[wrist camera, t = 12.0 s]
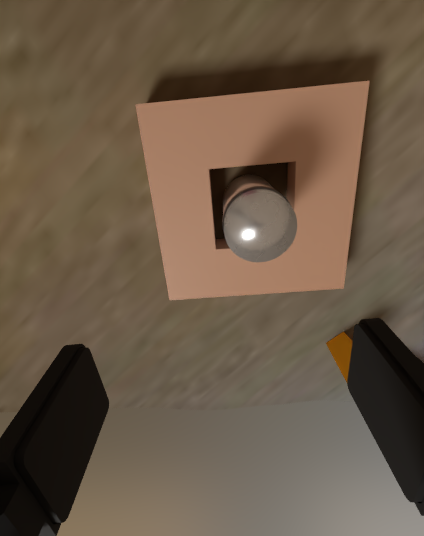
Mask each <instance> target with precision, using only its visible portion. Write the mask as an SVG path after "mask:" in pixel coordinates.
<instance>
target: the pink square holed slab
mask: <svg viewBox="0 0 424 536" xmlns="http://www.w3.org/2000/svg"><path fill="white" fill-rule="evenodd" d="M369 82H370V81H360V82H351V83H341V84H331V85H321V86H311V87H302V88H292V89H282V90H272V91H263V92H253V93H243V94H233V95H223V96H214V97H204V98H194V99H184V100H174V101H165V102H155V103H145V104H135V105H136V110H137V116H138V122H139V128H140V133H141V139H142V145H143V150H144V156H145V162H146V168H147V173H148V179H149V185H150V191H151V196H152V202H153V208H154V213H155V219H156V225H157V231H158V236H159V242H160V248H161V254H162V259H163V265H164V271H165V277H166V282H167V288H168V294H169V299H170V300H180V299H194V298H209V297H224V296H239V295H253V294H268V293H283V292H298V291H312V290H327V289H342V288H344V282H345V274H346V266H347V258H348V250H349V242H350V234H351V226H352V218H353V210H354V202H355V194H356V186H357V178H358V170H359V162H360V154H361V146H362V138H363V130H364V122H365V114H366V106H367V98H368V90H369ZM283 162H288V176H287V200H288V201H289V203H290V204H291V206H292V208H293V210H294V212H295V214H296V218H297V232H296V236H295V239H294V241H293V243H292V244H291V246H290V247H289V248H288V249H287V250H286V251H285V252H284V253H283V254H282V255H280V256H279V257H277V258H275V259H273V260H270V261H266V262H250V261H247V260H244V259H242V258H240V257H238V256H237V255H236V254H235V253H234V252H233V251H232V250H231V249H230V248H229V246H228V244H227V242H226V239H216V236H215V225H214V213H213V201H212V190H211V178H210V169H216V168H227V167H239V166H250V165H261V164H272V163H283Z"/></svg>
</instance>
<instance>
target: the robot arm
mask: <svg viewBox="0 0 424 536" xmlns="http://www.w3.org/2000/svg"><path fill="white" fill-rule="evenodd" d="M347 384H348V389H349V391H350V393H351V395H352V397H353V399H354V401H355V403H356V404H357V407H358V408H359V410H360V412H361V414H362V416H363V418H364V420H365V422H366V424H367V425H368V427H369V429H370V431H371V433H372V435H373V437H374V439H375V440H376V442H377V444H378V446H379V448H380V450H381V451H382V454H383V455H384V457H385V459H386V461H387V463H388V464H389V467H390V469H391V470H392V472H393V474H394V476H395V478H396V480H397V482H398V484H399V486H400V487H401V489H402V491H403V493H404V495H405V496H406V498H407V499H408V500H409V501H410V502H414V503H415V504H416V506H417V508H418V510H419V512H420V514H421V515H422V516H424V363H423V362H422V361H421V360H420V359H418V358H417V357H415V356H414V354H413V353H412V352H411V351H410V350H409V349H408V348H407V347H406V346H405V345H404V343H403V342H402V341H401V340H400V339H399V338H398V337H397V336H396V335H395V334H394V332H393V331H392V330H391V329H390V328H389V327H388V326H387V325H386V324H385V323H384V321H383V320H381V319H380V318H374V319H362V320H361V321H360V322H359V324H356V325H355V327H354V334H353V342H352V349H351V357H350V364H349V372H348V379H347ZM108 408H109V400H108V397H107V394H106V391H105V389H104V386H103V383H102V381H101V378H100V376H99V373H98V370H97V368H96V365H95V362H94V360H93V357H92V354H91V352H90V349H89V348H85V346H84V345H83V344H74V345H66V346H64V347H63V348H62V349H61V351H60V352H59V354H58V355H57V357H56V358H55V360H54V361H53V362H52V364H51V365H50V367H49V368H48V370H47V371H46V373H45V374H44V375H43V377H42V378H41V380H40V381H39V383H38V384H37V386H36V387H35V388H34V390H33V391H32V393H31V394H30V396H29V397H28V399H27V400H26V401H25V403H24V404H23V406H22V407H21V409H20V410H19V412H18V413H17V415H16V416H15V417H14V419H13V420H12V422H11V423H10V425H9V426H8V428H7V429H6V430H5V432H4V433H3V435H2V436H1V438H0V536H56V535H57V533H58V530H59V528H60V525H61V523H62V522H65V521H66V519H67V518H68V516H69V513H70V511H71V508H72V505H73V503H74V500H75V497H76V495H77V492H78V489H79V486H80V484H81V481H82V479H83V476H84V473H85V470H86V468H87V465H88V463H89V460H90V457H91V455H92V452H93V449H94V446H95V444H96V441H97V438H98V436H99V433H100V430H101V428H102V425H103V422H104V419H105V417H106V414H107V412H108Z"/></svg>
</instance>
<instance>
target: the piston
mask: <svg viewBox="0 0 424 536" xmlns="http://www.w3.org/2000/svg"><path fill="white" fill-rule="evenodd" d="M222 226H223V233H224V236H225V239H226V242H227V244H228V246H229V248H230V249H231V250H232V251H233V252H234V253H235V254H236V255H237V256H238V257H240V258H242V259H244V260H247V261H250V262H266V261H270V260H273V259H275V258H277V257H279V256H280V255H282V254H283V253H284V252H285V251H286V250H287V249H288V248H289V247H290V246H291V244H292V243H293V241H294V239H295V236H296V232H297V218H296V214H295V212H294V210H293V208H292V206H291V204H290V203H289V201H288V200H287V199H286V198H285V197H284V196H283V195H282V194H281V193H280V192H278V191H276V190H275V189H274V188H273V187H272V186H271V185H270V184H269V183H268V182H267V181H266V180H265V179H264V178H262V177H260V176H257V175H252V174H248V175H243V176H240V177H238V178H236V179H234V180H233V181H232V182H231V183H230V184H229V185H228V186H227V188H226V190H225V192H224V195H223V220H222Z"/></svg>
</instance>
